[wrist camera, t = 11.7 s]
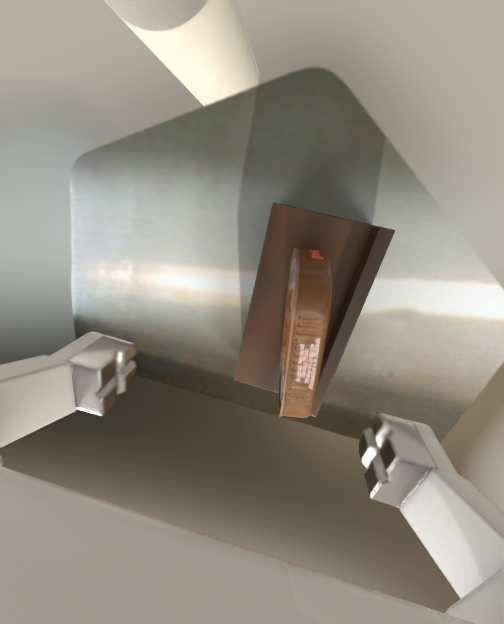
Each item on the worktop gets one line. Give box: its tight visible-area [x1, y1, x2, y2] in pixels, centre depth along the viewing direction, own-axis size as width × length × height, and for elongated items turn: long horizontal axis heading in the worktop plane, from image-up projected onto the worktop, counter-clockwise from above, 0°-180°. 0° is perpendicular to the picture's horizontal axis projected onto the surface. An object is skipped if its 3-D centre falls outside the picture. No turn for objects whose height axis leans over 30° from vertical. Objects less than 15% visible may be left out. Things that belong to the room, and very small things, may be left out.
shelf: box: [234, 203, 395, 417], centre depth 27 cm, size 10×20×7 cm, turn 168°
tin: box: [278, 248, 332, 418], centre depth 22 cm, size 15×3×8 cm, turn 177°
